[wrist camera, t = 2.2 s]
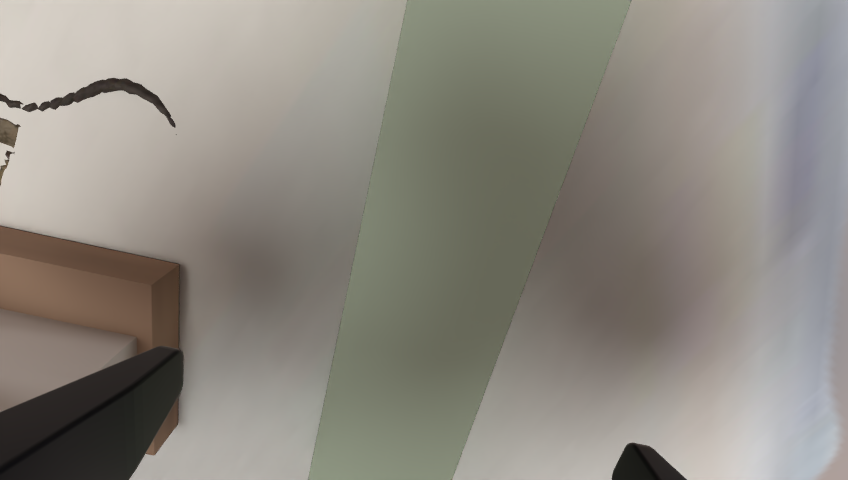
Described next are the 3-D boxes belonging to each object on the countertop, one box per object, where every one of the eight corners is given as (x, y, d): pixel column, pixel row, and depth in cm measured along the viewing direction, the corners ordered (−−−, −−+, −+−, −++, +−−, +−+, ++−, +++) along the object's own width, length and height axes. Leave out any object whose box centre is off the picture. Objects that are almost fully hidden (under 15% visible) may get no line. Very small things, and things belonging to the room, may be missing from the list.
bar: (420, 476, 18) (413, 581, 15) (324, 454, 18) (292, 555, 14) (585, -14, 12) (650, -50, 8) (436, -56, 11) (430, -112, 8)
